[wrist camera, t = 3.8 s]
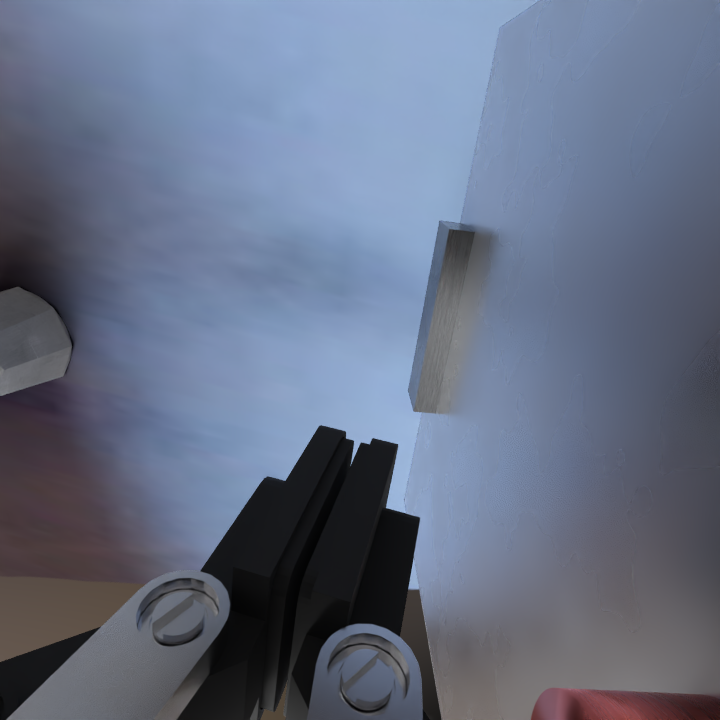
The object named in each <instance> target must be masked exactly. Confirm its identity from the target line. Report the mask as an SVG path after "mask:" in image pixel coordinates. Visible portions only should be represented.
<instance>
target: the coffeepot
mask: <svg viewBox="0 0 720 720" xmlns="http://www.w3.org/2000/svg"><path fill="white" fill-rule="evenodd" d="M71 348H72V344H71V340H70V336H69V333H68V331H67V328H66V326H65V324H64V323H63V321H62V319H61V317H60V316H59V315H58V314H57V312H56V311H55V310H54V308H53V307H52V306H51V305H49V304H48V303H47V302H46V301H44V300H43V299H42V298H40V297H39V296H37V295H35V294H33V293H31V292H28V291H25V290H23V289H22V288H20V287H15V288H12V289H9V290H5V291H2V292H0V396H2V395H5V394H8V393H11V392H15V391H18V390H21V389H24V388H27V387H31V386H34V385H37V384H40V383H43V382H47V381H50V380H53V379H56V378H60V377H63V376H64V374H65V371H66V369H67V367H68V364H69V362H70V359H71V353H72V352H71Z"/></svg>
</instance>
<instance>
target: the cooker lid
mask: <svg viewBox="0 0 720 720" xmlns="http://www.w3.org/2000/svg"><path fill="white" fill-rule="evenodd" d="M408 392H409V396H410V399H411V403H412V407H413V411H414V412H422V414H421V419H420V424H419V429H418V434H417V439H416V444H415V449H414V454H413V459H412V464H411V469H410V473H409V478H408V483H407V488H406V493H405V498H404V502H405V508H406V514H409V515H413V516H417V517H420V524H419V529H418V535H417V541H416V547H415V552H414V560H415V566H416V572H417V578H418V584H419V589H420V595H421V601H422V606H423V612H424V618H425V623H426V630H427V636H428V641H429V647H430V653H431V659H432V665H433V671H434V676H435V682H436V688H437V694H438V700H439V706H440V711H441V717H442V720H720V0H540V1H538V2H537V3H535V4H534V5H532V6H531V7H530V8H528V9H527V10H525V11H524V12H522V13H521V14H519V15H518V16H516V17H515V18H513V19H512V20H510V21H509V22H507V23H506V24H505V25H503V26H502V27H500V29H499V34H498V39H497V44H496V49H495V54H494V59H493V64H492V69H491V74H490V79H489V83H488V88H487V93H486V98H485V103H484V108H483V113H482V118H481V123H480V128H479V133H478V138H477V143H476V148H475V153H474V158H473V162H472V167H471V172H470V177H469V182H468V187H467V192H466V197H465V202H464V207H463V212H462V217H461V222H460V223H455V222H447V221H439V227H438V232H437V238H436V243H435V248H434V254H433V259H432V265H431V270H430V275H429V281H428V286H427V291H426V297H425V302H424V308H423V313H422V318H421V324H420V329H419V335H418V340H417V345H416V351H415V356H414V362H413V367H412V372H411V378H410V383H409V388H408Z"/></svg>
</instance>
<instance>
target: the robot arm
mask: <svg viewBox="0 0 720 720" xmlns="http://www.w3.org/2000/svg"><path fill="white" fill-rule="evenodd" d="M353 446H354V441H353V440H349V439H346V432H345V431H342V430H338V429H334V428H330V427H326V426H322V425H321V426H319V427H318V429H317V430H316V432H315V434H314V435H313V437H312V439H311V440H310V442H309V444H308V445H307V447H306V448H305V450H304V452H303V453H302V455H301V457H300V458H299V460H298V461H297V463H296V465H295V466H294V468H293V470H292V471H291V473H290V475H289V476H288V478H287V479H286V481H283V480H279V479H276V478H272V477H266V478H264V480H263V481H262V482H261V483H260V485H259V486H258V488H257V489H256V491H255V492H254V493H253V495H252V496H251V498H250V499H249V501H248V502H247V504H246V505H245V507H244V508H243V510H242V511H241V512H240V514H239V515H238V517H237V518H236V520H235V521H234V523H233V524H232V526H231V527H230V528H229V530H228V531H227V533H226V534H225V536H224V537H223V539H222V540H221V542H220V543H219V545H218V546H217V547H216V549H215V550H214V552H213V553H212V555H211V556H210V558H209V559H208V561H207V562H206V563H205V565H204V566H203V568H202V569H201V571H197V570H180V571H175V572H171V573H166V574H164V575H162V576H160V577H158V578H155V579H153V580H151V581H150V582H149V583H147V584H146V585H145V586H144V587H142V588H141V589H140V590H139V591H137V592H136V593H135V594H134V595H133V596H132V597H131V599H129V600H128V601H127V602H126V603H125V604H124V605H123V606H122V607H121V608H120V609H119V610H118V611H117V612H116V613H115V614H114V615H113V616H112V617H111V618H110V619H109V620H108V621H107V622H106V623H105V624H104V625H103V626H102V627H99V628H96V629H93V630H91V631H88V632H85V633H82V634H79V635H76V636H73V637H71V638H68V639H65V640H62V641H59V642H56V643H54V644H51V645H48V646H45V647H42V648H39V649H36V650H34V651H31V652H28V653H25V654H22V655H19V656H16V657H14V658H11V659H8V660H5V661H2V662H0V720H260V719H261V716H262V714H263V711H264V709H267V710H270V711H273V712H275V710H276V708H277V706H278V703H279V701H280V699H281V696H282V693H283V691H284V688H285V685H286V682H287V680H288V682H287V690H286V698H285V706H284V716H286V720H430V719H429V718H428V716H427V715H426V713H425V712H424V710H423V709H422V684H421V683H422V682H421V675H420V670H419V664H418V662H417V660H416V658H415V656H414V654H413V652H412V650H411V649H410V648H409V647H408V646H407V644H406V643H405V642H404V641H403V640H402V639H401V638H400V632H401V627H402V621H403V615H404V609H405V604H406V598H407V592H408V587H409V581H410V575H411V569H412V564H413V558H414V552H415V547H416V541H417V535H418V529H419V524H420V517H417V516H413V515H409V514H406V513H402V512H398V511H395V510H391V509H387V508H386V504H387V499H388V494H389V489H390V484H391V479H392V474H393V469H394V464H395V459H396V454H397V449H398V444H394V443H390V442H386V441H382V440H378V439H374V438H373V439H372V441H371V443H370V445H369V444H365V443H361V444H360V446H359V448H358V450H357V453H356V455H355V457H354V460H353V462H352V464H351V459H352V453H353ZM350 465H351V467H350Z"/></svg>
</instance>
